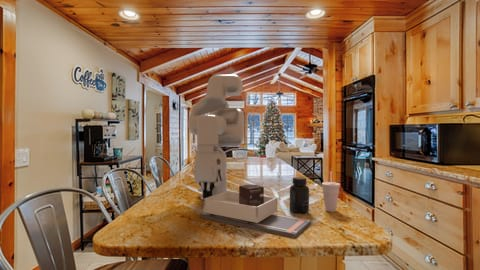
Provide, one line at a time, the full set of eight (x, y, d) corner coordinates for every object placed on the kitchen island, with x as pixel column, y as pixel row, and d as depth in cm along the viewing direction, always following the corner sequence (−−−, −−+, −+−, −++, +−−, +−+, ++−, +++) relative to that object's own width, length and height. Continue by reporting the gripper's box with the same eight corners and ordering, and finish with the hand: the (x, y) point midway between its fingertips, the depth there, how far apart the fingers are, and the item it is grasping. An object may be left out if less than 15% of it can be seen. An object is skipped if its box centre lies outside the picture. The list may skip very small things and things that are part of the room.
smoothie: (340, 208, 104) (341, 171, 103) (339, 213, 98) (339, 173, 97) (322, 206, 106) (323, 169, 106) (320, 211, 100) (320, 172, 100)
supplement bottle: (309, 215, 96) (309, 180, 96) (289, 213, 97) (289, 179, 97) (308, 209, 103) (308, 176, 102) (289, 208, 104) (289, 176, 104)
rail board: (199, 217, 93) (199, 214, 93) (224, 207, 105) (224, 204, 105) (295, 237, 76) (295, 233, 76) (311, 223, 87) (311, 219, 87)
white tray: (203, 214, 92) (203, 198, 92) (227, 204, 104) (227, 190, 104) (257, 225, 82) (257, 207, 81) (277, 213, 93) (277, 197, 93)
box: (248, 212, 87) (248, 188, 87) (238, 207, 92) (238, 185, 92) (264, 209, 90) (264, 186, 90) (254, 205, 95) (254, 183, 95)
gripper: (231, 149, 99) (231, 201, 99) (198, 148, 107) (198, 196, 107) (218, 151, 93) (218, 206, 93) (184, 149, 100) (184, 200, 101)
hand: (207, 201), depth 100 cm, fingers closed
